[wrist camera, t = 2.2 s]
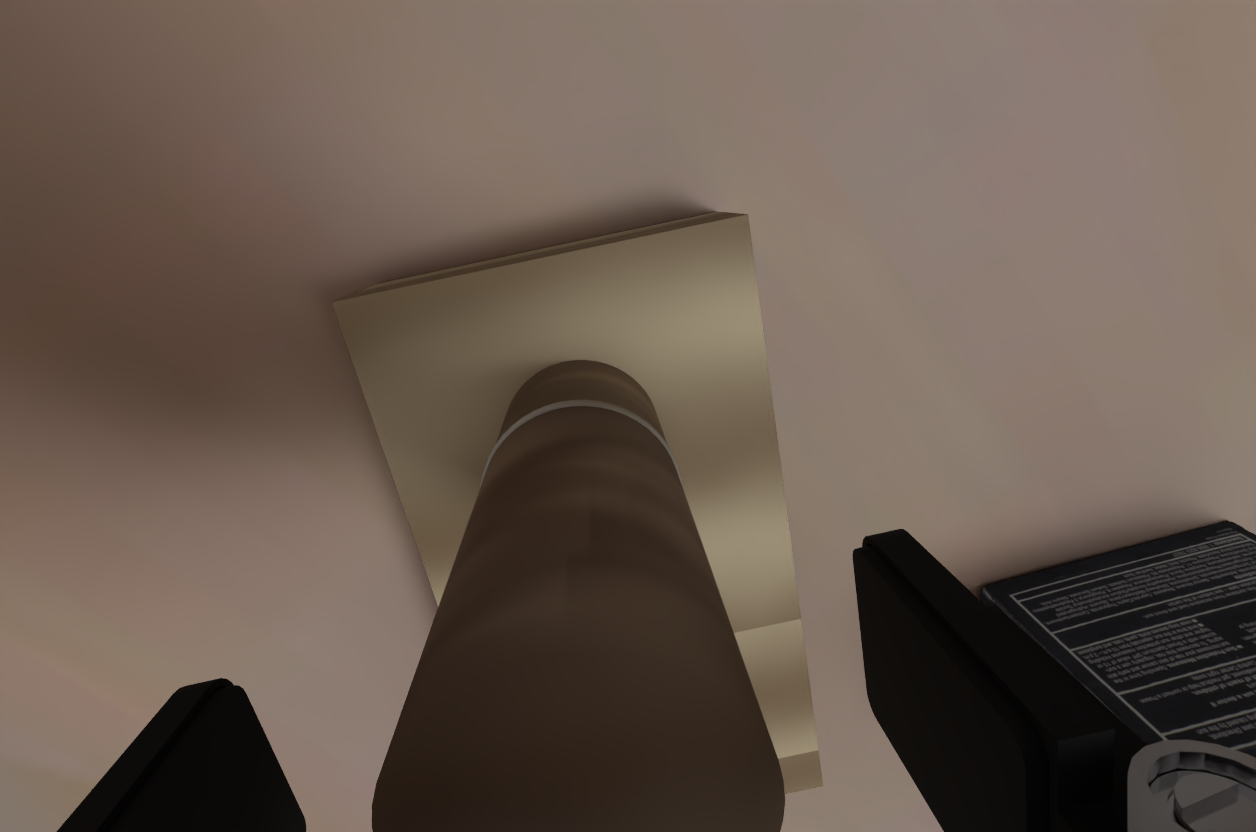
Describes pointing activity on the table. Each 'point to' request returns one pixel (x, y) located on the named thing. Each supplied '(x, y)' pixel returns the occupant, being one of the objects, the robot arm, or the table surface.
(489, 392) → the board
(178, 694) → the robot arm
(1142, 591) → the small box
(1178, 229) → the table surface
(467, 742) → the peg
